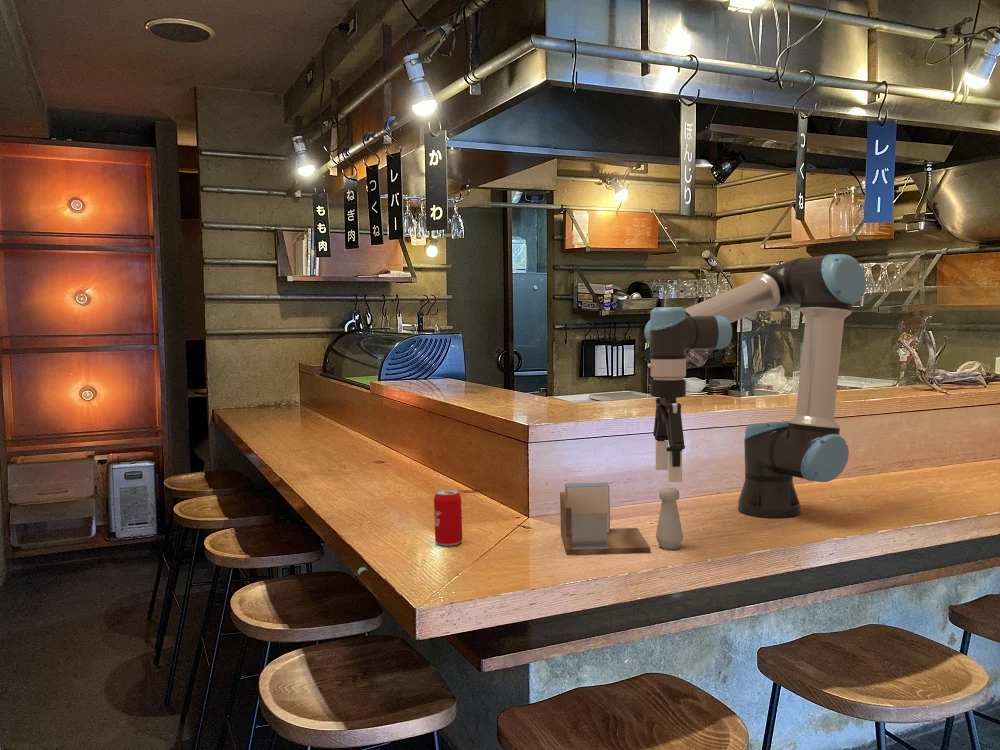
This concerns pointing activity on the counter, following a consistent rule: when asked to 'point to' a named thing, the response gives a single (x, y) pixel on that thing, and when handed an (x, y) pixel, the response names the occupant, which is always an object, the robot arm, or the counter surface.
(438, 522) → the beverage can
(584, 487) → the book block
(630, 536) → the wooden l-bracket
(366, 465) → the counter surface
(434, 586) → the counter surface
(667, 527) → the salt shaker
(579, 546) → the bookend
